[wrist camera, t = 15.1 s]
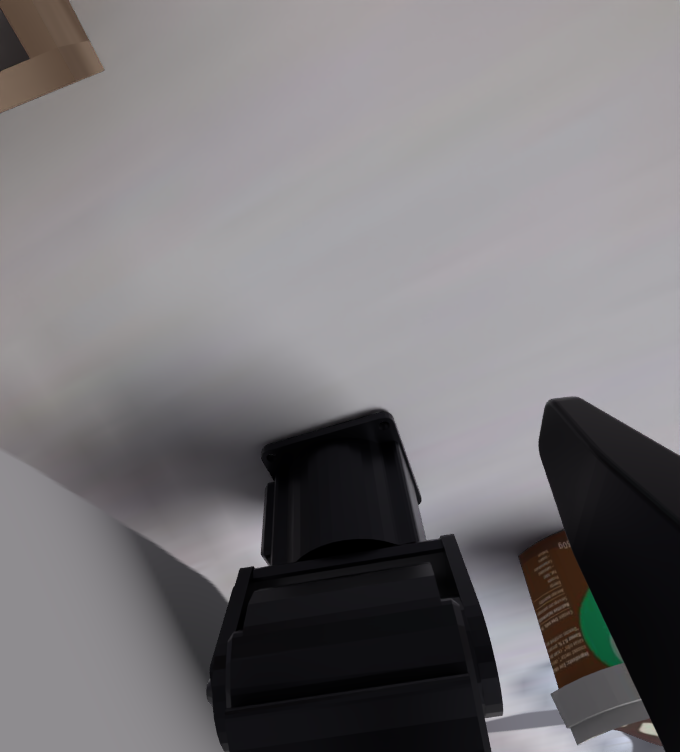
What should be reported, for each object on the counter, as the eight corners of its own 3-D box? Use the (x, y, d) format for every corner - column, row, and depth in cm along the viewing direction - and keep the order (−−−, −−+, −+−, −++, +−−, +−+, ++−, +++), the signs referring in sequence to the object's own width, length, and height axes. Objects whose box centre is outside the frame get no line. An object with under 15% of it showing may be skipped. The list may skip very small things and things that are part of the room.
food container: (720, 540, 32) (863, 724, 24) (645, 594, 35) (748, 773, 27) (568, 484, 28) (676, 680, 20) (498, 550, 31) (568, 744, 23)
